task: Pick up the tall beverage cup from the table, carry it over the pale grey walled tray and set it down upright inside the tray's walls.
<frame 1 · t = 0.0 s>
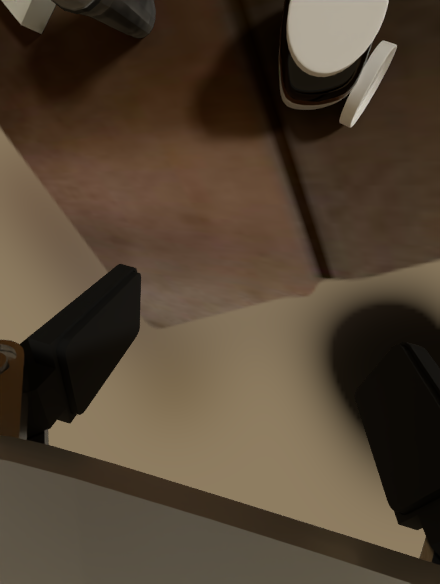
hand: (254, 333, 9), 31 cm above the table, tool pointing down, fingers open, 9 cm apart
beverage cup: (137, 11, 28), on the table
spread jar: (329, 66, 28), on the table
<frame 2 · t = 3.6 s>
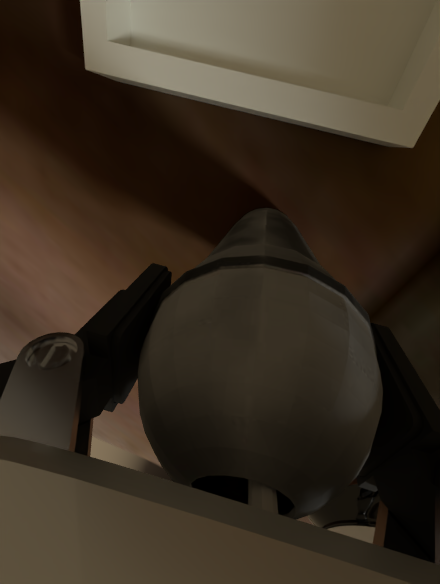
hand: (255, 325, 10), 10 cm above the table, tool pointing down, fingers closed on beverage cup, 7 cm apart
beverage cup: (263, 238, 18), on the table, touching gripper
spread jar: (338, 421, 27), on the table
when the fingers open (12 cm above the table, at t = 10.0 s): beverage cup drops 2 cm, resting on walled tray.
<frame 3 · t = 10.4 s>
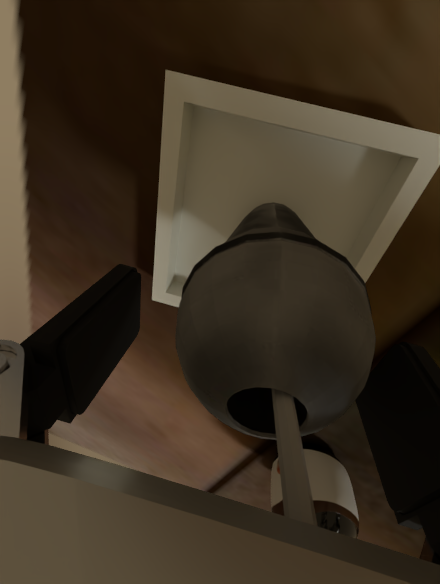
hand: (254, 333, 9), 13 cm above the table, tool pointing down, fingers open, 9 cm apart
beverage cup: (270, 231, 20), point 1 cm above the table, touching walled tray
walled tray: (264, 228, 20), on the table
spread jar: (307, 460, 38), on the table
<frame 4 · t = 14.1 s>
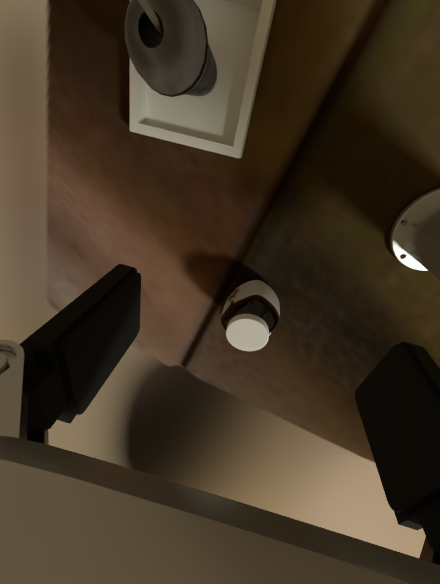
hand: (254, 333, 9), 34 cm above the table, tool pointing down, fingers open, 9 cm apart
beverage cup: (200, 74, 32), point 1 cm above the table, touching walled tray
walled tray: (198, 75, 32), on the table
spread jar: (254, 304, 50), on the table
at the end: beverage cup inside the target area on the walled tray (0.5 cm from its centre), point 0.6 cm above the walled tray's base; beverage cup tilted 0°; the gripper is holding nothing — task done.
